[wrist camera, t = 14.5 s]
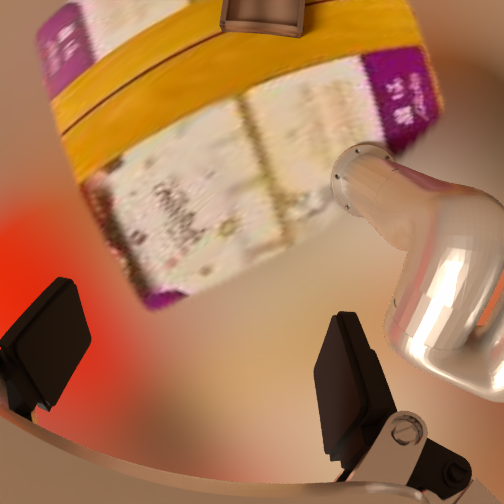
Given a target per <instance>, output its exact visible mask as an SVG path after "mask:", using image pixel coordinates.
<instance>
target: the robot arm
mask: <svg viewBox="0 0 504 504" xmlns="http://www.w3.org/2000/svg"><path fill="white" fill-rule="evenodd" d="M356 149H357V152H355V150H356ZM385 157H387V158H386V159H385ZM336 174H337V177H335V175H336ZM331 187H332V192H333V195H334V197H335V199H336V201H337V202H338V204H339V205H340V206H341V207H342V208H343V209H344V210H345V211H346V212H348V213H349V214H351V215H354V216H357V217H362V218H365V219H366V220H367V221H368V222H369V223H370V224H371V225H372V226H373V227H374V228H375V229H376V230H377V232H378V233H379V234H380V235H381V236H382V237H383V238H384V239H385V240H386V241H387V242H388V243H389V244H391V245H392V246H394V247H396V248H397V249H400V250H403V251H408V252H407V256H406V258H405V262H404V264H403V269H402V272H401V275H400V277H399V281H398V283H397V286H396V288H395V291H394V293H393V296H392V299H391V301H390V304H389V307H388V309H387V312H386V315H385V319H384V323H383V334H384V337H385V340H386V342H387V344H388V346H389V347H390V349H391V350H392V351H393V352H394V353H395V354H396V355H397V356H399V357H400V358H401V359H402V360H404V361H405V362H407V363H408V364H410V365H412V366H414V367H415V368H417V369H419V370H421V371H424V372H426V373H428V374H430V375H432V376H434V377H436V378H438V379H441V380H443V381H445V382H447V383H449V384H452V385H454V386H456V387H458V388H461V389H463V390H465V391H468V392H470V393H472V394H474V395H476V396H479V397H481V398H484V399H486V400H489V401H493V402H504V288H503V290H502V293H501V295H500V297H499V299H498V301H497V303H496V305H495V307H494V308H493V310H492V312H491V314H490V316H489V318H488V320H487V322H486V323H485V324H484V325H482V326H479V325H476V324H477V322H478V320H479V318H480V317H481V315H482V313H483V311H484V309H485V308H486V306H487V304H488V302H489V300H490V298H491V296H492V294H493V292H494V290H495V287H496V285H497V283H498V280H499V278H500V276H501V274H502V271H503V269H504V206H503V205H502V204H501V203H500V202H499V201H498V200H497V199H495V198H494V197H493V196H491V195H489V194H488V193H486V192H484V191H482V190H478V189H475V188H473V187H469V186H464V185H459V184H454V183H449V182H445V181H441V180H438V179H435V178H433V177H430V176H427V175H425V174H422V173H420V172H417V171H415V170H412V169H410V168H407V167H405V166H402V165H400V164H397V163H396V162H395V160H394V159H393V157H392V156H391V155H390V154H389V153H388V152H387V151H385V150H383V149H382V148H380V147H377V146H374V145H368V144H362V145H357V146H354V147H352V148H350V149H348V150H347V151H345V152H344V153H343V154H342V155H341V156H340V157H339V158H338V160H337V161H336V163H335V165H334V168H333V170H332V175H331ZM346 205H348V206H347V207H345V206H346ZM90 343H91V334H90V331H89V328H88V325H87V322H86V319H85V316H84V312H83V308H82V305H81V301H80V297H79V294H78V290H77V286H76V285H75V284H74V282H73V280H71V279H68V278H63V277H58V278H56V279H55V280H54V281H53V282H52V283H51V284H50V285H49V287H47V288H46V289H45V290H44V291H43V292H42V293H41V295H40V296H39V297H38V298H37V299H36V300H35V301H34V302H33V303H32V304H31V305H30V306H29V307H28V308H27V310H25V312H24V313H23V314H22V315H21V316H20V317H19V318H18V319H17V321H16V322H15V323H14V324H13V325H12V326H11V327H10V329H9V330H8V331H7V332H6V333H5V334H4V336H3V337H2V338H1V339H0V347H1V350H0V504H501V502H500V501H499V500H498V499H497V498H496V497H495V496H494V495H493V494H492V493H491V492H489V490H487V488H486V487H485V486H484V485H483V484H482V483H481V482H480V481H479V480H478V479H477V478H475V479H472V478H471V476H472V470H471V467H470V464H469V463H468V461H467V460H466V459H465V458H463V457H462V456H460V455H458V454H456V453H454V452H452V451H451V450H448V449H447V448H445V447H443V446H441V445H439V444H438V443H436V442H434V441H432V440H430V439H429V438H427V434H428V432H427V427H426V424H425V422H424V421H423V420H422V419H421V417H419V416H418V415H416V414H415V413H412V412H409V411H399V412H397V409H396V406H395V403H394V400H393V398H392V395H391V392H390V389H389V387H388V383H387V381H386V378H385V375H384V373H383V370H382V367H381V365H380V362H379V360H378V357H377V354H376V353H375V351H374V350H373V349H370V346H369V344H368V341H367V338H366V336H365V333H364V331H363V329H362V326H361V324H360V321H359V319H358V316H357V314H356V313H355V312H344V311H340V312H338V314H337V315H333V316H332V318H331V322H330V324H329V328H328V330H327V334H326V336H325V339H324V342H323V345H322V348H321V350H320V353H319V356H318V359H317V362H316V364H315V367H314V381H315V388H316V394H317V401H318V408H319V414H320V422H321V429H322V436H323V444H324V451H325V454H330V461H341V467H342V468H343V470H342V471H341V473H340V474H339V475H338V477H337V478H336V479H335V481H334V482H330V483H307V484H265V483H243V482H231V481H221V480H212V479H205V478H199V477H192V476H187V475H181V474H176V473H171V472H166V471H162V470H157V469H153V468H149V467H145V466H141V465H138V464H134V463H131V462H127V461H124V460H121V459H118V458H114V457H111V456H108V455H106V454H103V453H100V452H97V451H95V450H92V449H89V448H87V447H84V446H82V445H79V444H77V443H74V442H72V441H70V440H67V439H65V438H63V437H61V436H58V435H56V434H54V433H52V432H50V431H48V430H46V429H44V428H42V427H40V426H38V421H37V417H36V412H35V407H36V405H38V407H40V408H42V409H43V410H46V411H48V412H49V411H50V410H51V408H52V406H55V405H56V403H57V402H58V399H59V398H60V396H61V394H62V392H63V390H64V388H65V387H66V385H67V383H68V381H69V380H70V378H71V376H72V374H73V373H74V371H75V369H76V367H77V365H78V364H79V362H80V361H81V359H82V357H83V355H84V354H85V352H86V351H87V349H88V347H89V345H90Z"/></svg>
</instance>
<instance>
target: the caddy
mask: <svg viewBox="0 0 504 504" xmlns="http://www.w3.org/2000/svg"><path fill="white" fill-rule="evenodd" d="M304 9H305V0H223V5H222V11H221V18H220V27H221V29H222V32H245V33H259V34H270V35H279V36H287V37H294V38H300V36H301V34H302V32H303V21H304Z"/></svg>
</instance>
